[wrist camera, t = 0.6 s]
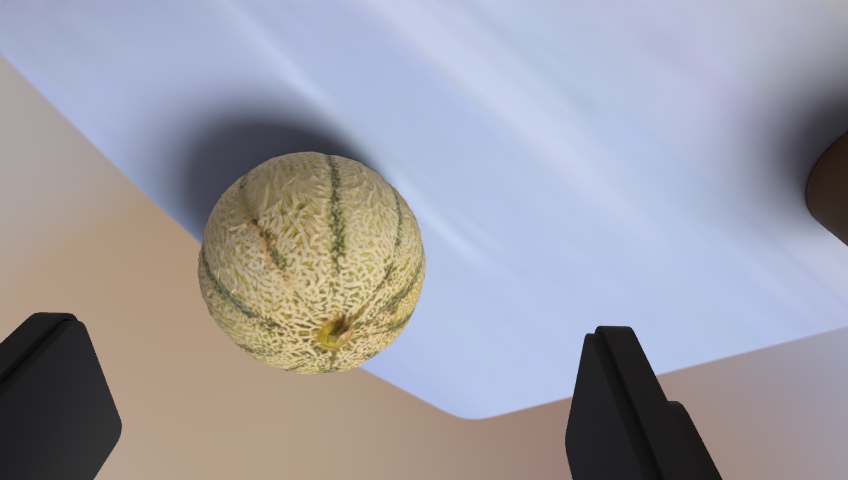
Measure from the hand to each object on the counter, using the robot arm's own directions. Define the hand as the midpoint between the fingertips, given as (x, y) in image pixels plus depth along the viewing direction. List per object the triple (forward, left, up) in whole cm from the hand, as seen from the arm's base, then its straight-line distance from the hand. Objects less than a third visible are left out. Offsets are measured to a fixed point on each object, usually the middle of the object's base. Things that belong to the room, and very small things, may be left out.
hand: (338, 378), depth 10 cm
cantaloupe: (-4, -13, -31) cm, 33 cm away
